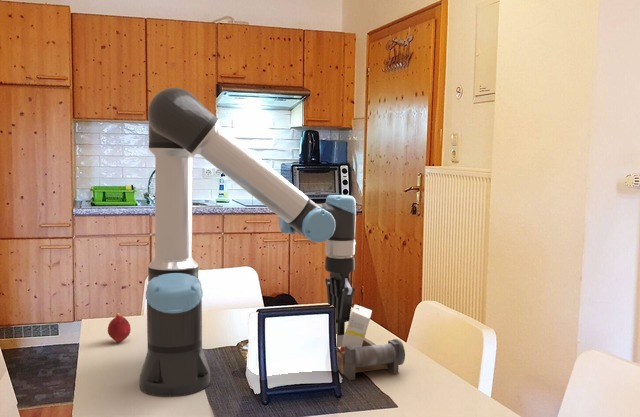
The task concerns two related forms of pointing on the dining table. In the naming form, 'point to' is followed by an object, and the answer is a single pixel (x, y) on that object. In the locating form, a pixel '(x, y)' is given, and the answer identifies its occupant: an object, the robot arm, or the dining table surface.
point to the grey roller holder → (371, 357)
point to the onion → (119, 328)
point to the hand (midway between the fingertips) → (338, 345)
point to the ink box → (356, 327)
